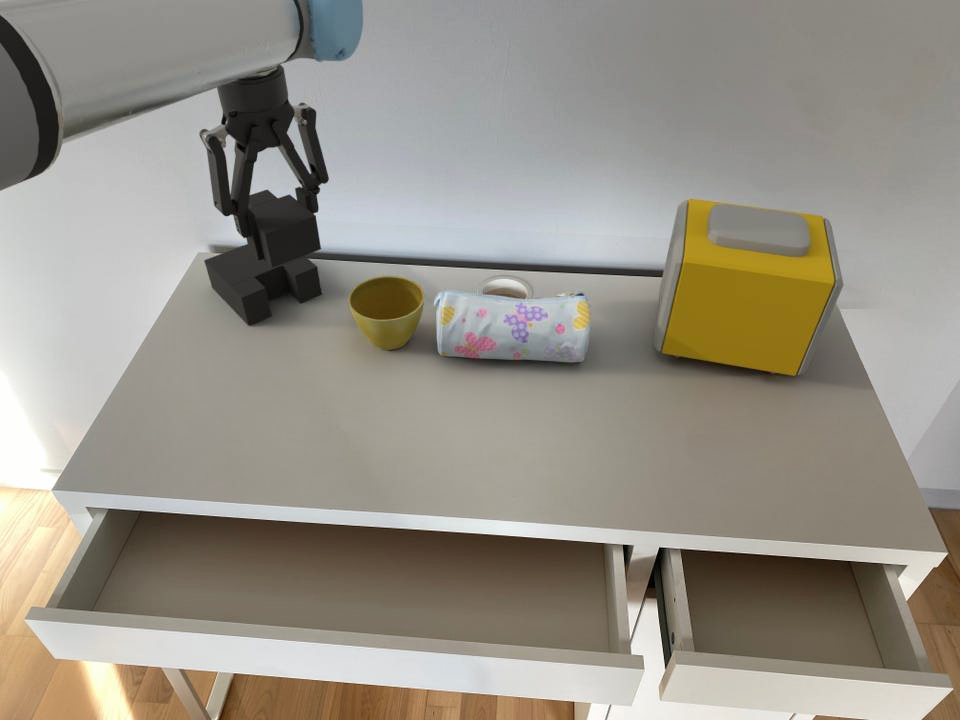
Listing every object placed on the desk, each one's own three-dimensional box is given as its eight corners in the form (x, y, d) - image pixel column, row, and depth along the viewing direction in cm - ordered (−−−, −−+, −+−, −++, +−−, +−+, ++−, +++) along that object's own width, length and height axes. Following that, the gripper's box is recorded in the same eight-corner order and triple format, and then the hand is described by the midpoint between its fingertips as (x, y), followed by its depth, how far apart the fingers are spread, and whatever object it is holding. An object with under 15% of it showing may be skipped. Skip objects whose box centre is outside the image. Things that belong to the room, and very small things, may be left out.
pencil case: (584, 333, 101) (592, 278, 95) (590, 375, 95) (599, 319, 88) (437, 330, 101) (434, 275, 95) (433, 372, 95) (430, 316, 89)
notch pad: (248, 326, 102) (241, 297, 98) (212, 287, 108) (203, 260, 105) (322, 294, 108) (317, 266, 104) (283, 259, 114) (277, 232, 111)
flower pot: (407, 308, 105) (404, 267, 100) (439, 347, 99) (437, 305, 94) (343, 329, 101) (337, 288, 97) (371, 371, 95) (366, 329, 90)
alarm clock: (793, 316, 105) (836, 204, 92) (801, 389, 93) (852, 272, 81) (657, 295, 108) (681, 184, 96) (649, 363, 97) (675, 247, 84)
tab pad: (272, 268, 90) (264, 233, 87) (238, 234, 96) (229, 201, 93) (321, 249, 94) (315, 215, 90) (285, 218, 99) (279, 185, 96)
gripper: (312, 39, 85) (335, 209, 101) (145, 76, 76) (199, 258, 91) (344, 57, 81) (364, 232, 96) (172, 98, 72) (224, 285, 87)
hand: (283, 244), depth 94 cm, fingers closed on tab pad, 7 cm apart
